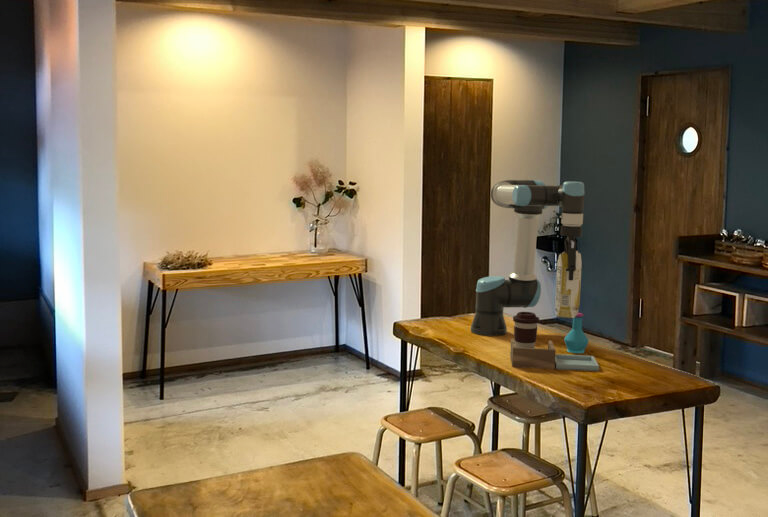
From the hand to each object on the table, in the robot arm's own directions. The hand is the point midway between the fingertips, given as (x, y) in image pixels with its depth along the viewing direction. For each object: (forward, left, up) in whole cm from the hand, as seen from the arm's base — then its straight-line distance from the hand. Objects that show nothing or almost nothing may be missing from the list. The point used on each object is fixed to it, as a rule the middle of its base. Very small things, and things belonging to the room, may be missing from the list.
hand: (568, 286), depth 310 cm
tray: (0, +4, -29) cm, 29 cm away
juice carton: (0, 0, -11) cm, 11 cm away
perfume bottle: (-22, +7, -29) cm, 37 cm away
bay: (-1, -12, -29) cm, 31 cm away
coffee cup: (-18, -13, -29) cm, 37 cm away
